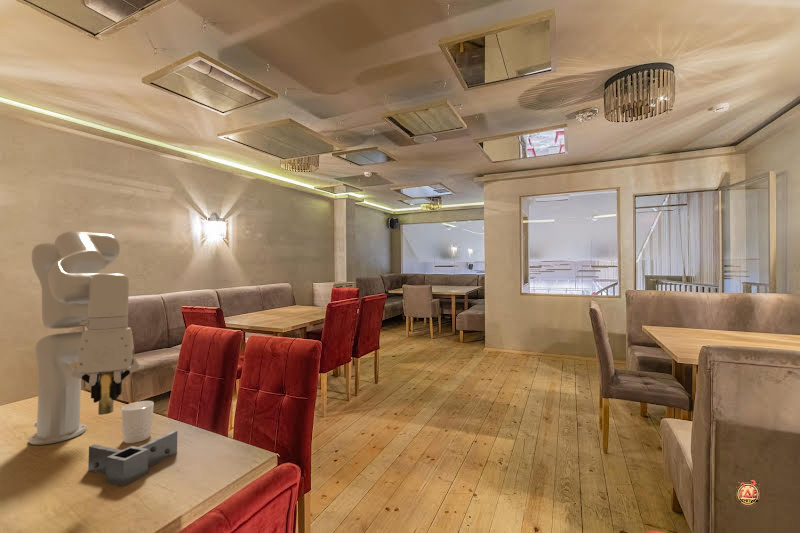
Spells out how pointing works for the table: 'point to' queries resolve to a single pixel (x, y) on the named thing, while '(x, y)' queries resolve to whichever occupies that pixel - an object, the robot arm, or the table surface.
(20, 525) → the table surface
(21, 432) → the table surface
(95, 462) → the hinge body
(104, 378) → the hinge pin
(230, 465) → the table surface
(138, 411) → the white cup
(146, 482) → the table surface
